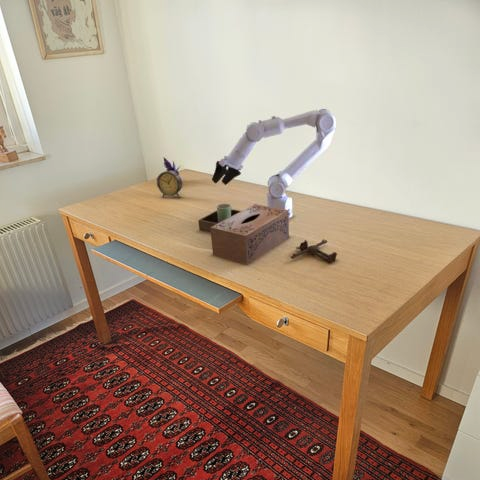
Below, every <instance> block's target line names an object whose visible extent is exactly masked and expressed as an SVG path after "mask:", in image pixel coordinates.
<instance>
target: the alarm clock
mask: <svg viewBox="0 0 480 480" xmlns="http://www.w3.org/2000/svg"><path fill="white" fill-rule="evenodd" d="M165 162H169V163H170V167H171V166H172V164H171V162H170V161H169V160H168V161H165ZM165 162H164V161H163V166H164V167H165V169H167V170H165V171H162V172H160V173H159V174H160V175H159V174H158V176H157V178H158V179H157V178H156V186H157V188H158V190H159V192H160V193H161V194H162V196H161V197H162V198H164V197H165V196H166V197H174V196H177V197H178V198H181V196H180V194H179V193H180V192H181V190H182V188H183V180H182V177H181V176H180V174H179V175H178V174H177V173H176V172H174V171H172V170H169V168H170V167H169V168H168V167H167V168H166V166H165Z"/></svg>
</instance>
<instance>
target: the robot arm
mask: <svg viewBox="0 0 480 480" xmlns="http://www.w3.org/2000/svg"><path fill="white" fill-rule="evenodd" d="M336 121H337V120H336V117H335V115H334V114H333V113H332V112H331V111H330V110H329V109H327V108H321V109H319V110H318V109H315V110H314V109H313V110H310V111H306V112H302V113H300V114H296V115H294V116H290V117H286V118H281V117H279V116H275V115H273V116H271V118H268V119H264V120H262V119H259V120H258V121H257V122H256V121H254V122H250V123H249V124H247V126H246V128H245V129H246V131H245V132H244V133H243V134H242V136H241V137H240V138H239V139H238V141H237V142H236V144H235V145H234V146H233V148H232V150H231V151H230V152H229V153H228V155H224V156H223V158H221V159H219V160H216V162H215V168H214V173H213V175H212V178H211V181H212V182H213V183H214V184H217V183H219V181H221V183H222V184H223V185H225V186H227V185H228V184H229V183H230V182H232V181H233V180H234V179H235V178H236V177H239V176H241V175H242V172H241V171H242V169H243V167H244V165H242V164H243V163H244V161H245V160H246V158H247V157H248V156H249V154H250V153H251V151H252V150H253V149H254V146H255V145H256V144H257V143H258V142H260V141H261V140H262V139H266V138H271V137H274V136H279V135H281V134H283V132H284V130H286V129H291V128H295V127H300V126H306V125H307V126H309V127H312V128H315V140H313V141H312V142H311V143H310V144H309V145H308V146H307V147H306V148H305V149H304V150H303V151H302V152H300V154H299V155H298V156H296V158H294V160H292V161H291V162H290V163H289V164H288V165H287V166H286V167H285V168H284V169H282V170H280V171H278V173H275V174H274V175H271V176H269V178H268V180H267V186H268V188H267V189H268V193H267V194H266V206H268V207H273V208H278V209H284V210H289V219H290V218H291V217H293V216H294V214H293V199H292V197H290V196H288V195H287V194H286V190H287V189H288V188H289V187H290V185H291V184H292V181H293V180H294V179H295V178H296V177H297V176H298V175H300V174H301V173H302V172H303V171H304V170H305V169H306V168H307V167H309V165H310V164H312V162H314V161H315V160H316V159H317V158H318V157H319V156H320V155H321V154H323V152H324V151H325V150H326V149H327V148H329V146H330V144H331V142H332V138H333V135H334V133H335V131H336V128H337V127H336V126H337V125H336ZM221 179H222V180H221Z"/></svg>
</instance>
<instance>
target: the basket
mask: <svg viewBox="0 0 480 480" xmlns="http://www.w3.org/2000/svg"><path fill="white" fill-rule="evenodd" d="M241 211H242V210H237V209H232V208H231V216H233V215H235V214H237V213H239V212H241ZM197 221H198V229H199V231H201V232H204V233H205V232H206V233H209V234H211V229H210V227H212V226H214V225H216V224H218V216H217V209H216V210H215V211H213V212H211V213H209V214H207V215H205V216H203V217H202V218H200V219H198V220H197Z"/></svg>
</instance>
